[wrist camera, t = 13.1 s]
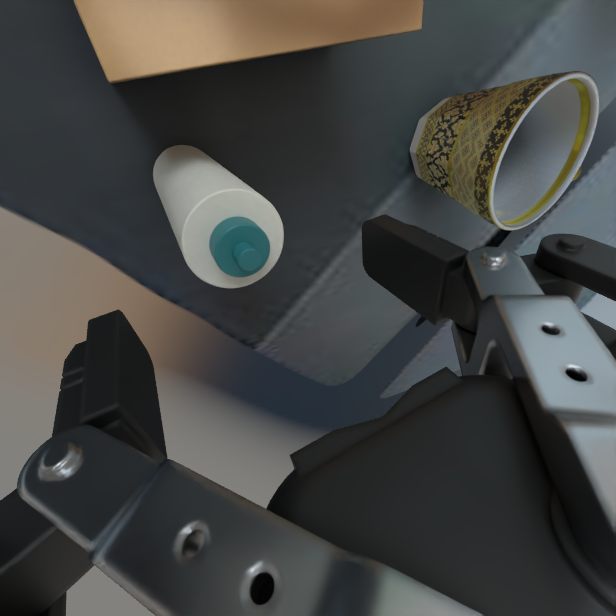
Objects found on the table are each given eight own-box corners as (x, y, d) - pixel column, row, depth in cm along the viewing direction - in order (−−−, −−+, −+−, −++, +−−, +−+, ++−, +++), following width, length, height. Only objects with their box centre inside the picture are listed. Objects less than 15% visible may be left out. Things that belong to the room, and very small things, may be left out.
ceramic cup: (379, 190, 29) (468, 225, 22) (421, 57, 25) (551, 45, 17) (467, 205, 36) (558, 236, 28) (513, 102, 31) (637, 107, 24)
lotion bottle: (168, 217, 22) (213, 326, 12) (141, 153, 20) (168, 224, 10) (225, 200, 24) (309, 287, 13) (206, 138, 21) (293, 186, 11)
